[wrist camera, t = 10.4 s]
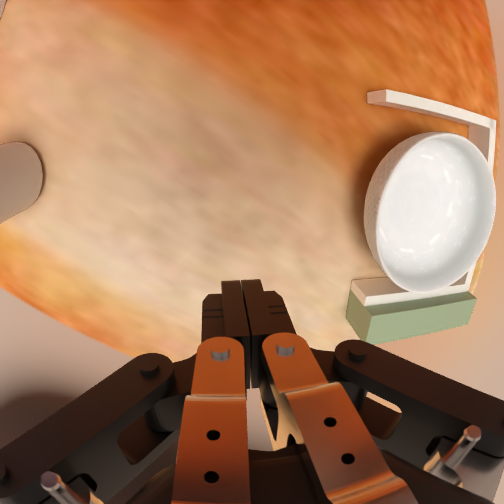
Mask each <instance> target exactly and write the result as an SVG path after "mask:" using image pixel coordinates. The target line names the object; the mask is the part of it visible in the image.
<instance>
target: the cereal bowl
mask: <svg viewBox="0 0 504 504" xmlns="http://www.w3.org/2000/svg"><path fill="white" fill-rule="evenodd" d="M495 208H496V191H495V184H494V179H493V175H492V172H491V169H490V166H489V164H488V162H487V160H486V158H485V157H484V155H483V154H482V152H481V151H480V150H479V149H478V148H477V147H476V146H475V145H474V144H473V143H472V142H471V141H469V140H468V139H466V138H464V137H462V136H460V135H457V134H455V133H449V132H428V133H422V134H417V135H415V136H411V137H410V138H407V139H406V140H404V141H402V142H400V143H398V145H396V146H395V147H394V148H392V149H391V150H390V151H389V152H388V153H387V155H386V156H385V157H384V158H383V159H382V161H381V162H380V163H379V165H378V167H377V168H376V170H375V172H374V174H373V176H372V179H371V181H370V183H369V186H368V190H367V194H366V198H365V207H364V229H365V235H366V240H367V243H368V245H369V249H370V251H371V253H372V255H373V257H374V259H375V261H376V262H377V264H378V265H379V267H380V268H381V269H382V271H383V272H384V273H385V274H386V276H387V277H388V278H389V279H390V280H391V281H392V282H394V283H395V284H396V285H397V286H399V287H401V288H402V289H404V290H407V291H409V292H413V293H432V292H436V291H439V290H442V289H444V288H446V287H448V286H450V285H452V284H453V283H455V282H456V281H457V280H459V279H460V278H461V277H462V276H463V275H465V274H466V273H467V272H468V271H469V269H470V268H471V267H472V266H473V265H474V263H475V262H476V261H477V259H478V258H479V256H480V254H481V253H482V251H483V249H484V247H485V245H486V243H487V241H488V238H489V235H490V233H491V230H492V226H493V222H494V217H495Z"/></svg>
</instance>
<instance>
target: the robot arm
mask: <svg viewBox="0 0 504 504" xmlns="http://www.w3.org/2000/svg"><path fill="white" fill-rule="evenodd" d="M221 287H222V294H208V295H207V297H206V298H205V299H204V300H203V304H202V341H201V344H200V345H199V347H198V349H197V353H196V354H195V355H193V356H192V357H190V358H188V359H186V360H182V361H178V362H175V363H172V361H171V360H170V359H169V358H168V357H166V356H164V355H162V354H158V353H147V354H143V355H140V356H137V357H136V358H134V359H133V360H131V361H130V362H128V363H127V364H125V365H124V366H123V367H121V368H120V369H118V370H117V371H115V372H114V373H113V374H111V375H110V376H108V377H107V378H105V379H104V380H103V381H101V382H99V383H98V384H97V385H95V386H94V387H92V388H91V389H89V390H88V391H86V392H85V393H84V394H82V395H81V396H79V397H78V398H76V399H75V400H74V401H72V402H70V403H69V404H67V405H66V406H64V407H63V408H62V409H60V410H59V411H57V412H56V413H54V414H53V415H51V416H50V417H48V418H47V419H45V420H44V421H42V422H41V423H39V424H38V425H36V426H35V427H33V428H32V429H30V430H29V431H27V432H26V433H24V434H23V435H21V436H20V437H18V438H17V439H15V440H14V441H12V442H11V443H9V444H8V445H6V446H5V447H3V448H2V449H0V503H1V504H104V503H105V502H107V501H108V500H109V499H110V498H112V497H113V496H114V495H115V494H116V493H117V492H119V491H120V490H121V489H122V488H123V487H125V486H126V485H127V484H128V483H129V482H130V481H132V480H133V479H134V478H135V477H136V476H137V475H138V474H140V473H141V472H142V471H143V470H144V469H145V468H146V467H147V466H149V465H150V464H151V463H152V462H153V461H154V460H155V459H156V458H157V457H159V456H160V455H161V454H162V453H163V452H164V451H165V450H166V449H167V448H168V447H169V446H170V445H172V444H173V443H174V442H175V441H176V440H177V439H178V438H179V444H178V452H177V460H176V463H175V464H173V465H171V466H169V467H167V468H165V469H163V470H162V471H160V472H159V473H157V474H156V475H155V476H153V477H152V478H151V479H150V480H149V481H148V482H147V483H146V484H145V485H144V486H143V487H142V488H141V489H140V490H139V491H138V492H137V493H136V494H135V495H134V496H133V497H132V498H130V500H128V501H127V502H126V503H125V504H494V503H493V499H494V497H495V494H496V491H497V488H498V485H499V482H500V479H501V476H502V473H503V470H504V401H503V400H501V399H498V398H496V397H493V396H491V395H488V394H486V393H483V392H481V391H478V390H476V389H473V388H471V387H469V386H466V385H464V384H461V383H459V382H457V381H454V380H452V379H449V378H447V377H445V376H442V375H440V374H438V373H435V372H433V371H431V370H428V369H426V368H424V367H421V366H419V365H417V364H415V363H412V362H410V361H408V360H405V359H403V358H401V357H399V356H396V355H394V354H392V353H390V352H388V351H385V350H383V349H381V348H379V347H376V346H374V345H372V344H370V343H368V342H365V341H362V340H346V341H343V342H341V343H340V344H338V345H337V346H336V348H335V352H333V351H323V350H316V349H313V348H310V347H309V346H308V344H307V342H306V341H305V340H304V339H303V338H302V337H300V336H298V335H297V334H296V332H295V329H294V327H293V324H292V321H291V319H290V316H289V314H288V311H287V309H286V307H285V303H284V301H283V298H282V297H281V296H280V295H279V294H277V293H276V292H275V291H263V287H262V284H261V281H260V279H254V280H241V283H240V280H235V281H221ZM250 379H251V385H252V388H260V393H261V401H260V405H261V409H262V413H263V416H264V419H265V422H266V426H267V429H268V433H269V436H270V439H271V443H272V446H273V451H259V450H250V449H248V436H247V414H246V413H247V411H246V400H247V389H250ZM367 392H371V393H372V394H375V395H376V396H379V397H380V398H383V399H385V400H387V401H389V402H391V403H393V404H395V405H397V406H398V407H399V408H400V409H401V411H402V413H398V412H396V411H394V410H392V409H390V408H388V407H386V406H383V405H382V404H380V403H377V402H376V401H374V400H372V399H370V398H368V397H366V395H367Z"/></svg>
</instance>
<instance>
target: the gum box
mask: <svg viewBox="0 0 504 504" xmlns="http://www.w3.org/2000/svg"><path fill="white" fill-rule="evenodd" d="M5 3H6V0H0V17H1V15H2V12H3V9H4V6H5Z"/></svg>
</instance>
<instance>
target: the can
mask: <svg viewBox="0 0 504 504" xmlns="http://www.w3.org/2000/svg"><path fill="white" fill-rule="evenodd" d="M42 179H43V173H42V166H41V162H40V160H39V158H38V155H37V153H36V152H35V151H34V150H33V149H32V147H30V146H29V145H27V144H25V143H23V142H12V143H6V144H0V224H1V223H2V222H4V221H6V220H7V219H9V218H11V217H13V216H14V215H16V214H18V213H20V212H21V211H23V210H25V209H27V208H28V207H29V206H31V205H32V204H33V203H34V202H35V200H36V199H37V198H38V196H39V193H40V190H41V187H42Z"/></svg>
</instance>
